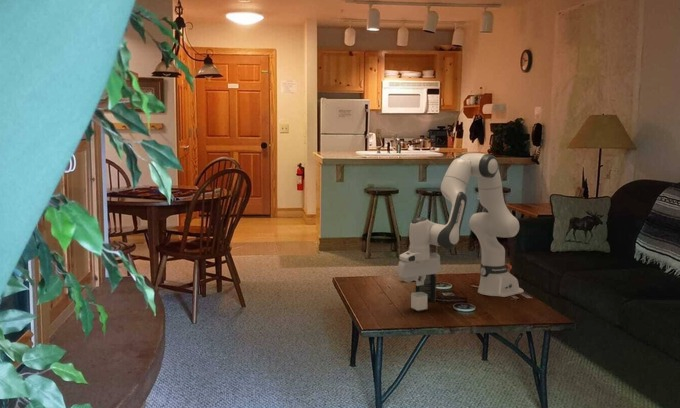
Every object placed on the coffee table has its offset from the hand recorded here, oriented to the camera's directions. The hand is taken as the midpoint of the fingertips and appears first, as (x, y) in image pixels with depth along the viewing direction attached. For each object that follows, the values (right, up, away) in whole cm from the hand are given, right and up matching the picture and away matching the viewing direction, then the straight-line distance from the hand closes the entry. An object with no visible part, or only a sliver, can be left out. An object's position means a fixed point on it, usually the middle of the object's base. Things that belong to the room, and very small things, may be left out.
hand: (419, 285), depth 274 cm
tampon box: (+5, -9, +20) cm, 23 cm away
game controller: (+6, -5, +54) cm, 54 cm away
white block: (0, -10, +1) cm, 10 cm away
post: (0, -11, +1) cm, 11 cm away
